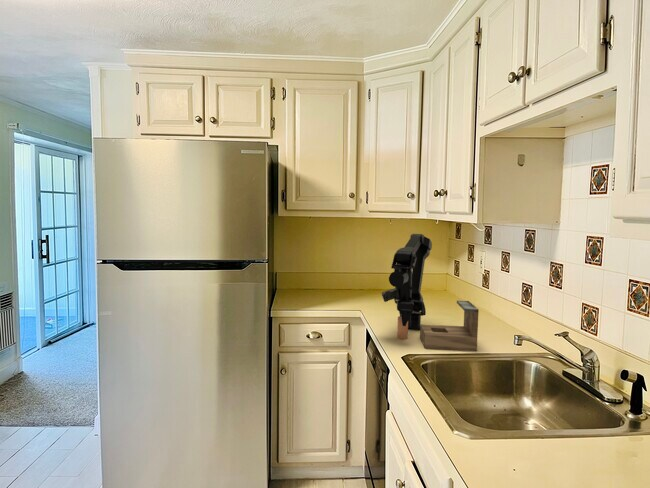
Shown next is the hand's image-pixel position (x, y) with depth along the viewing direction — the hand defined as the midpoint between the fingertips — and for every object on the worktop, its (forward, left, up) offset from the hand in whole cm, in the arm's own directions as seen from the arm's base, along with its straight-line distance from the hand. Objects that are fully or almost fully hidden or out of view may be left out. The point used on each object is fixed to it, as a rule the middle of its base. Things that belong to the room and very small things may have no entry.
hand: (402, 322), depth 160 cm
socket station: (+5, +16, -6) cm, 18 cm away
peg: (0, 0, -6) cm, 6 cm away
